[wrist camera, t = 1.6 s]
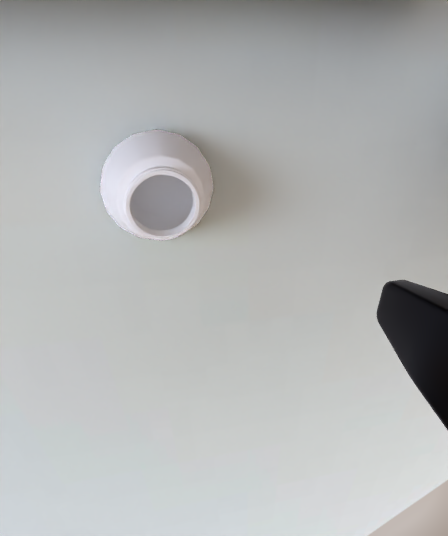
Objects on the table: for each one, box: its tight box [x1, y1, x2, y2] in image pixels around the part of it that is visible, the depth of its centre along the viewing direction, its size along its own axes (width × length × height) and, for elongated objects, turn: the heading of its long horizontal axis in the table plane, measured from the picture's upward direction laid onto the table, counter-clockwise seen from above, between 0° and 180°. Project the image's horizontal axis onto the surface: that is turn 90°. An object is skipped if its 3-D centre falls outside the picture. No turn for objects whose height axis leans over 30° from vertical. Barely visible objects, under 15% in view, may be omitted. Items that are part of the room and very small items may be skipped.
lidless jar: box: [100, 129, 214, 241], centre depth 18 cm, size 5×3×5 cm
